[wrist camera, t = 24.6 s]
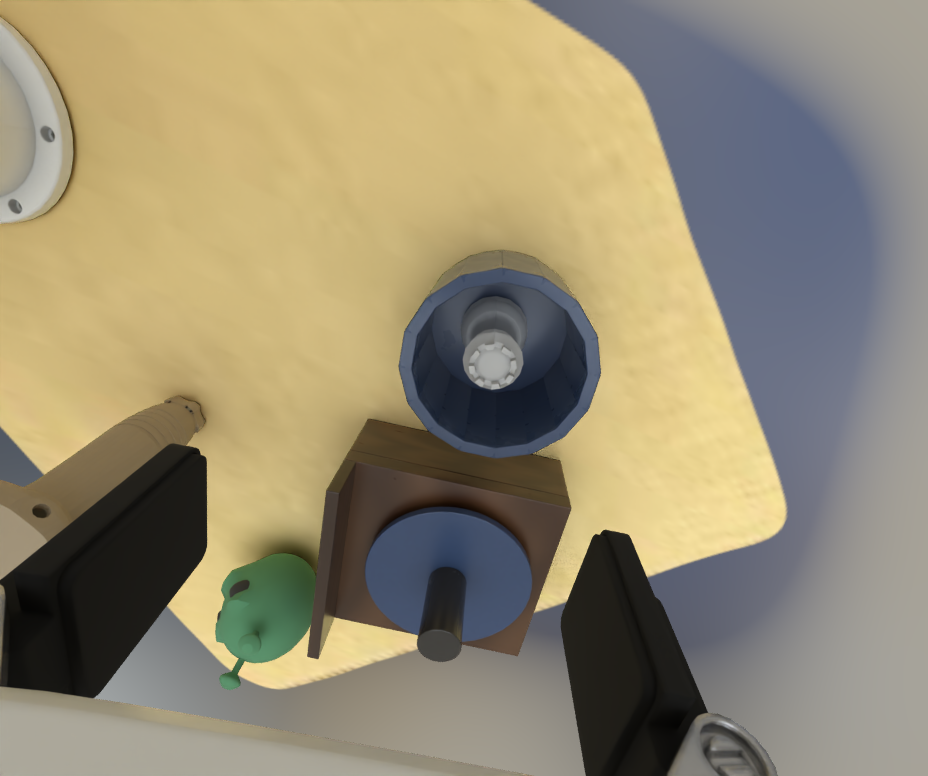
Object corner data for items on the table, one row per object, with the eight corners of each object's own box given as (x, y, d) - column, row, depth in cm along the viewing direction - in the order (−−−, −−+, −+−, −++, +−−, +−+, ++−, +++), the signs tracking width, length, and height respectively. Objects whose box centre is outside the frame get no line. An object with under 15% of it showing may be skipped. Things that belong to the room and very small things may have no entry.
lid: (359, 610, 35) (332, 690, 30) (380, 484, 31) (354, 550, 25) (508, 641, 36) (510, 727, 30) (550, 521, 31) (562, 594, 26)
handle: (173, 364, 35) (-35, 474, 22) (237, 426, 37) (82, 565, 23) (135, 399, 37) (-84, 524, 23) (198, 458, 38) (30, 607, 25)
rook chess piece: (462, 292, 31) (451, 323, 24) (530, 296, 31) (540, 328, 24) (459, 356, 33) (448, 403, 26) (524, 360, 33) (531, 409, 26)
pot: (412, 380, 35) (387, 435, 27) (438, 234, 31) (417, 248, 23) (551, 411, 35) (566, 474, 27) (595, 269, 31) (628, 295, 23)
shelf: (347, 559, 41) (306, 657, 33) (368, 418, 36) (325, 490, 27) (515, 595, 42) (519, 702, 33) (560, 460, 36) (580, 545, 28)
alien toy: (262, 517, 40) (192, 614, 31) (344, 556, 41) (300, 661, 32) (236, 572, 43) (164, 675, 34) (314, 607, 44) (265, 717, 35)
